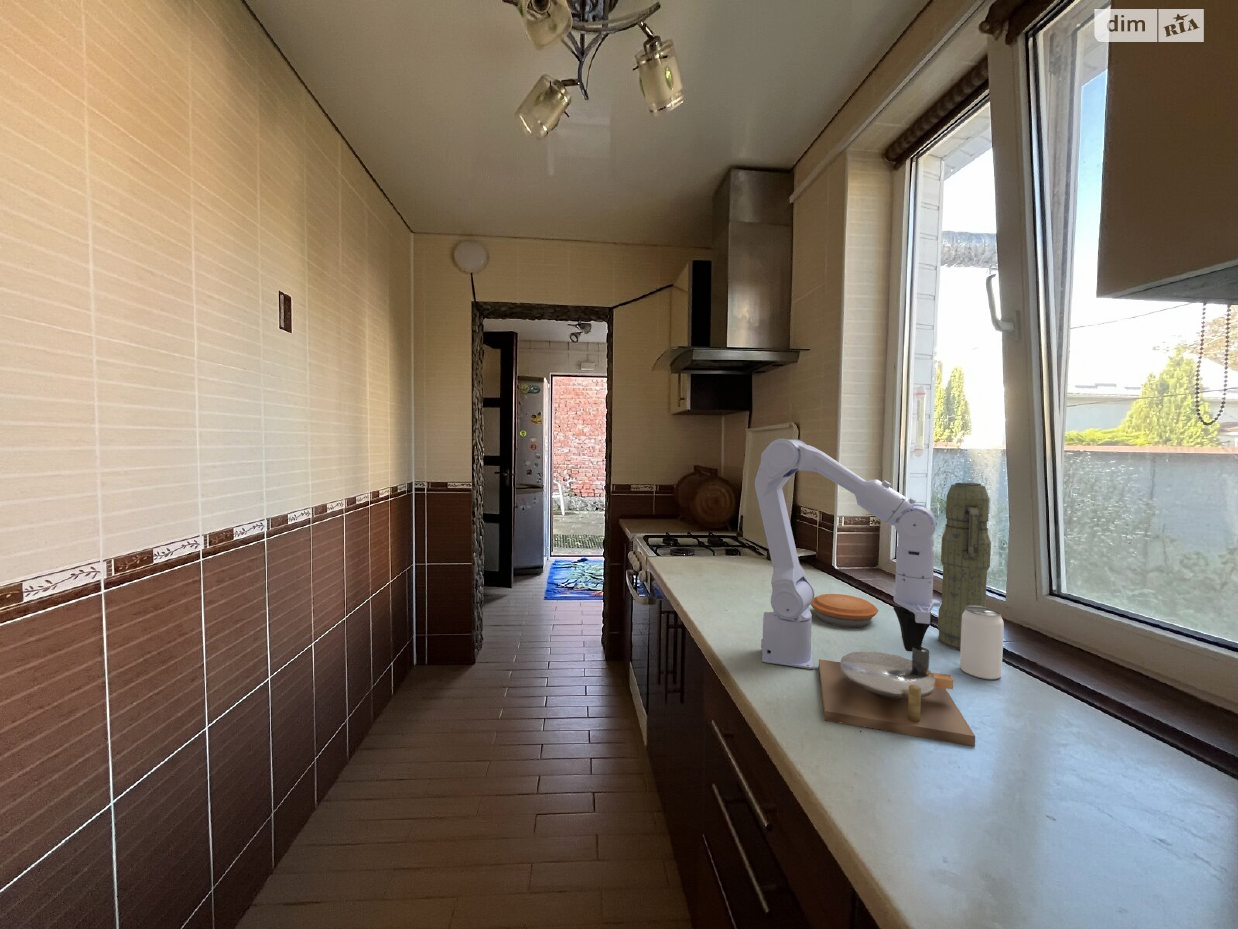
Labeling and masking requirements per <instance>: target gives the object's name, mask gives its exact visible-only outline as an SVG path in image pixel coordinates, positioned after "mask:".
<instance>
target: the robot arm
mask: <svg viewBox="0 0 1238 929" xmlns="http://www.w3.org/2000/svg"><path fill="white" fill-rule="evenodd" d="M758 466H759V467H758V470H757V473H756V476H755V480H754V488H755V494H756V497H757V502H758V507H759V510H760V511H759V512H760V516H761V520H762V524H763V529H764V534H765V537H766V538H765V539H766V542H767V546H768V551H769V552H768V553H769V556H770V560H771V564H772V576H771V582H770V583H771V589H772V592H771V595H770V605H771V608H772V609H773V611H764V612H763V620H762V638H761V642H760V644H761V645H760V648H761V650H762V652H761V654H762V655H761V657H762V658H761V661H762V662H763V663H766V664H773V665H774V664H775V665H781V666H787V667H789V666H790V667H796V668H802V669H810V670H812V669H813V670H814V656H813V652H812V650H811V649H812V622H813V620H812V619H813V618H812V613H811V610H810V606H811V603H812V602H813V600H814V598H815V597H816V596H815V589H814V587H813V585H812V583H810V581H809V580H808V578H807V574H806V571H805V570H804V568H803V566H802V565H801V564H800V560H799V557H798V556H799V555H798V552H797V548H796V547H797V546H796V544H795V542H796V541H795V539H794V535H793V534H794V533H793V530H792V526H791V521H790V517H789V513H788V512H789V511H788V508H787V504H786V500H785V496H784V495H785V494H784V491H783V487H784V486H785V485H786V484H787V482H788V481H789V479H790V478H791V477H792V476H793V475H794V474H795V473H797V472H798V471H802V472H804V471H805V472H815V473H818V474H820V475H821V476H823V477H825V478H827V479H828V480H830V481H831V482H833V483H835V484H837V485H838V486H840V487H841V488H843V489H845V490H847V491H848V492H850V493H851V494H853V495H854V496H855V499H856V503H857V505H858V506H859V507H860V508H862V509H863V510H866V511H867V512H868V513H870V514H872V515H873V516H874V517H876V518H877V519H879V520H881V521H882V522H884V523H885V524H886V525H888V526H894V527H895V528H894V530H896V533H897V534H898V536H897V538H898V539H897V546H896V552H895V553H896V555H895V556H896V557H895V558H896V559H895V584H894V585H895V588H894V596H893V602H894V603H895V604H897V605H898V606H897V605H896V606H895V605H894V606H892V607H893V608H892V609H893V611H894V612H895V616H896V617H897V620H898V623H899V627H900V634H901V639H902V644H903V647H904V650H905V651H907V652H910V653H912V648H913V647H922V645H923V641H924V639H925V635H926V633H927V631H928V628H929V627H930V626H931V624H932V623H934V620H935V617H934V616H933V614H932V612H931V611H932V610H933V608H934V607H937V608H940V606H941V602H940V601H939V599H933V597H934V596H933V594H934V591H933V590H934V571H935V570H934V567H935V566H934V565H935V550H934V549H933V548H934V545H935V544H934V543H935V540H934V536H933V535H934V534H935V532H936V524H937V520H936V517H935V514H933V512H932V511H931V510H930V509H928V507H927V506H926V505H924V504H919V503H916V502H917V500H916V499H915V498H913V497H910V498H908V497H906V496H905V495H903V494H901V493H900V492H899V491H897V490H895V489H894V488H891V487H892V483H890V482H888V481H887V480H883V481H881V480H879V479H870V480H865V479H864V478H862V477H861V476H859V475H858V474H856V473H855V472H854V471H852V470H851V469H849V468H848V467H846V466H845V465H843V464H841V463H840V462H839V461H838V460H835V459H834V458H832V457H831V456H830V455H828V454H827V453H825V452H824V451H822V450H820V449H818V448H817V447H815V446H813V445H809V444H806V443H805V442H804V441H802V440H801V439H797V438H796V439H795V438H792V439H786V438H778V439H775V440H773V441H771V442H770V443H769V444H768V445H767V447H766V448H765V449H764V450H763V451H762V453H761V455H760V463H759V465H758Z"/></svg>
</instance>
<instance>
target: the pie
mask: <svg viewBox="0 0 1238 929" xmlns="http://www.w3.org/2000/svg"><path fill="white" fill-rule="evenodd" d="M810 606H811V607H812V608H813V609H814V611H815V613H816V616H817V617H818V618H819V619H820V620H821V621H823V622H825V623H827V624H830V625H834V626H838V627H845V628H862V627H865V626H867V625H868V624H869V623H870V622H871V621H872V619H873V618H874V617H875V616H877V614H878V612H879V611H880V610H879V609H878V608H877V607H876V606H875V605H874V604H873V603H871V602H870V601H868V600H866V599H863V598H860V597H859V596H858V597H857V596H854V595H849V594H848V595H847V594H842V593H841V594H840V593H826V594H820V595H818V596H814V600H813V602H812V603H811V604H810Z"/></svg>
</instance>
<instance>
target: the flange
mask: <svg viewBox="0 0 1238 929" xmlns="http://www.w3.org/2000/svg"><path fill="white" fill-rule="evenodd" d="M911 653H912V654H911V660H910V659H908V658H905V657H902V656H898V655H895V654H890V653H885V652H879V651H877V652H876V651H864V650H863V651H852V652H850V653H846V654H845V655H843V656H842V657H841V659H840V662H841V673H842V675H843V676H844V677H845V678H846V679H847V680H848V681H850V682H851V683H853V684H855V685H856V686H858V687H861V688H863V689H865V690H868V691H871V692H874V693H877V694H881V695H885V696H890V697H897V698H908V697H909V685H916V686H919V687H920V688H921V698H923V697H926V696H929V695H931V694H932V693H933V692H934V690H935V687H938V688H945V689H946V690H954V679H953V677H952V675H951V674H944V673H937V672H932V671H931V670H930V649H927V648H925V647H922V646H921V647H913V648H912V652H911Z"/></svg>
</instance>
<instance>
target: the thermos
mask: <svg viewBox="0 0 1238 929" xmlns="http://www.w3.org/2000/svg"><path fill="white" fill-rule="evenodd" d="M945 504H946V507H945V518H946V524H944V525H945V528H944V530H943V531H944V532H943V534H942V537H941V547H940V549H941V551H940V563H941V565H942V583H941V584H942V586H941V587H942V591H941V592H942V593H941V603H940V607H938V612H937V613H938V617H937V630H938V636H937V637H938V640H937V641H938V642H939V643H940V645H943V646H945V647H946V648H947V647H948V648H950V649H954V650H956V651H960V648H961V624H962V614H963V613H964V611H965V607H967V606H981V607H986V604H987V581H988V580H987V579H988V578H987V577H988V571H989V569H990V568H991V553H992V552H991V549H992V541H991V538H990V536H989V528H988V522H989V517H990V516H989V512H990V497H989V493H988V490H987V487H986V486H985V485H982V484H981V483H976V482H975V483H974V482H955V483H953V484H950V487H949V490H948V492H947V494H946V501H945Z"/></svg>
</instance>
